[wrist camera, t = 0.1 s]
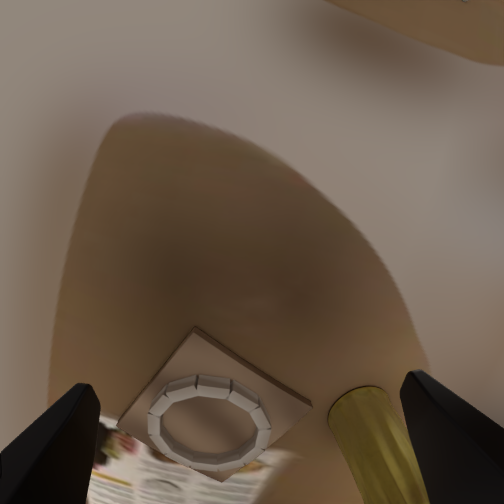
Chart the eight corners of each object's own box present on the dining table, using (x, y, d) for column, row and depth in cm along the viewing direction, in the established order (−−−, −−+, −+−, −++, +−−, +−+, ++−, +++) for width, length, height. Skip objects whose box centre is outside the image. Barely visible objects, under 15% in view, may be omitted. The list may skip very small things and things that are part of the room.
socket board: (222, 475, 27) (221, 493, 25) (118, 419, 25) (111, 435, 23) (310, 401, 26) (316, 418, 23) (195, 326, 24) (190, 341, 21)
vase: (314, 423, 26) (354, 550, 12) (356, 375, 26) (429, 497, 12) (359, 440, 27) (408, 549, 13) (400, 397, 26) (473, 499, 12)
